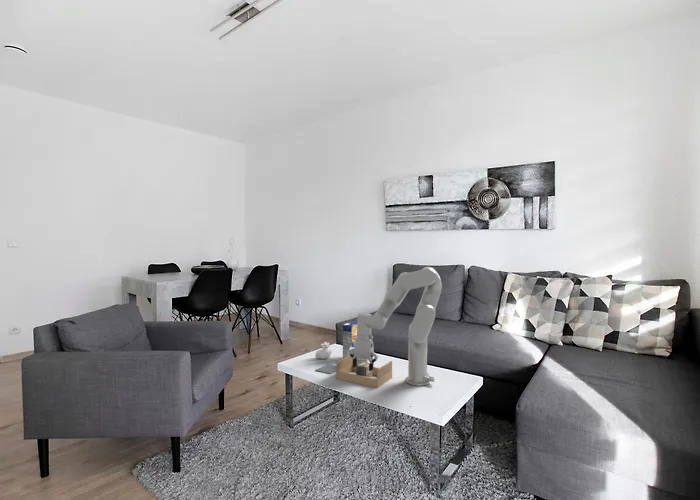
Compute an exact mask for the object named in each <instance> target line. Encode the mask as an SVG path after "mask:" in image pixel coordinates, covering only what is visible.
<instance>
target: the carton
mask: <svg viewBox="0 0 700 500" xmlns="http://www.w3.org/2000/svg"><path fill="white" fill-rule="evenodd" d="M335 364H336V365H335V366H336V371H335V372H336V373H335V379H336V380H341V381H345V382H349V383H355V384H359V385H363V386H367V387H368V386H369V387H373V388H377V389H379V388H380V387H382V386H383V385H384V384H385V383H387V382H389V381H391V379H393V360H391V361H389V362H387V363H385V364H384V365H382V366H381V367H377V366H373V370H372V376H376V378H374V377H371V378H370V377H365V376H360V375H356V373H355V374H354V373H351V372H352V371H353V372H356V367H357V366H358V365H360V364H357V366H356V367H353V360H352V357H351V356H350V355H349V356H347V357H345V358H343V357H342V359H339V360H338V361H336V363H335Z"/></svg>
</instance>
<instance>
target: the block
mask: <svg viewBox="0 0 700 500" xmlns="http://www.w3.org/2000/svg"><path fill="white" fill-rule="evenodd" d="M369 364H370V362H368V363H366V362H364V363H362V364H360V365H358V366H357V367H356V371H355V375H360V376H365V377H370V378H373V375H372V371H369Z"/></svg>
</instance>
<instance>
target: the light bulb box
mask: <svg viewBox="0 0 700 500" xmlns="http://www.w3.org/2000/svg"><path fill="white" fill-rule="evenodd" d="M351 349H354V347H350V349H349V350H351ZM353 354H354V351H353ZM349 355H350V353H349ZM356 359H357V364H362V363H364V362H366V363H369V360H368V359H363V358H358V357H357V358H356Z"/></svg>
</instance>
